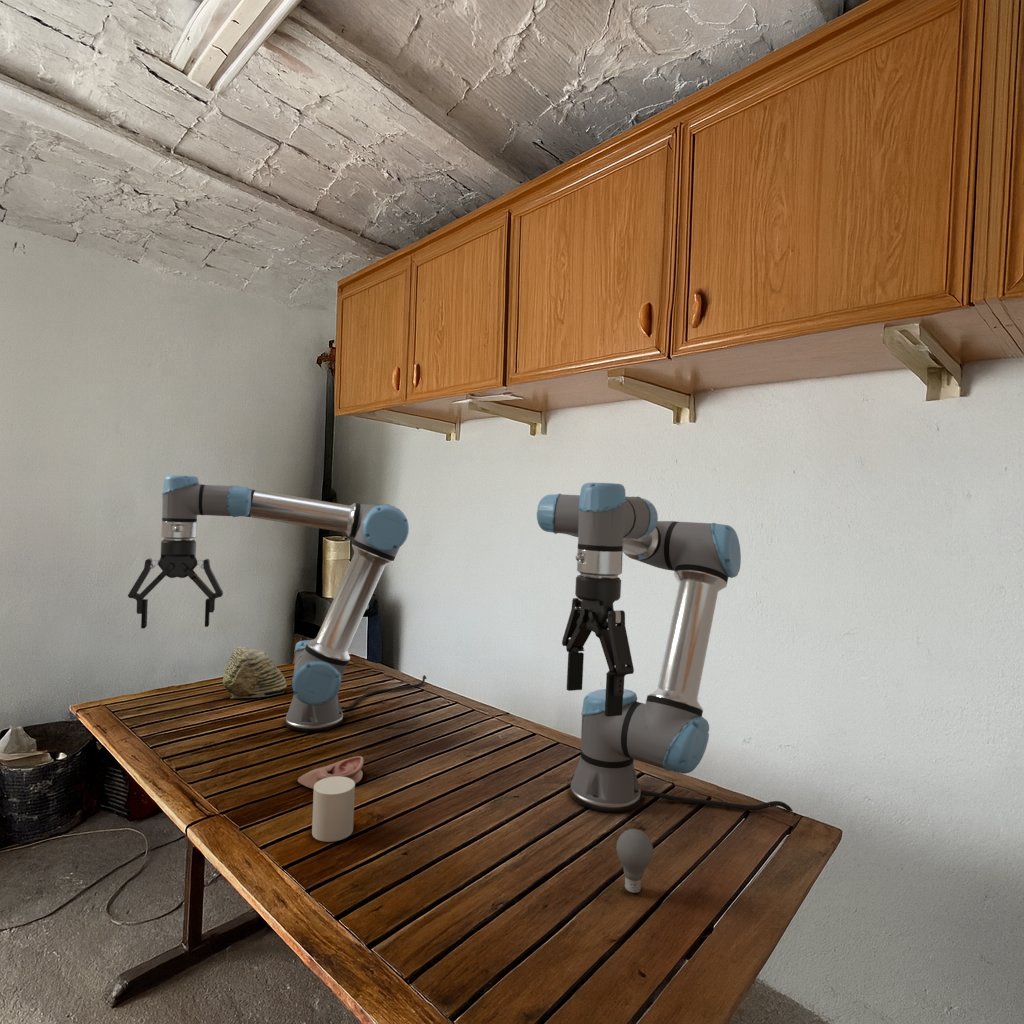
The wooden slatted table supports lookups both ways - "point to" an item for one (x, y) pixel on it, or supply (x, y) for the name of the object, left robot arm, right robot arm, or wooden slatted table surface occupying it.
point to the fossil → (252, 674)
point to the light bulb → (634, 857)
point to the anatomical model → (335, 771)
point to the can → (333, 808)
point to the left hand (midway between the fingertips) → (175, 626)
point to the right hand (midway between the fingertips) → (592, 701)
